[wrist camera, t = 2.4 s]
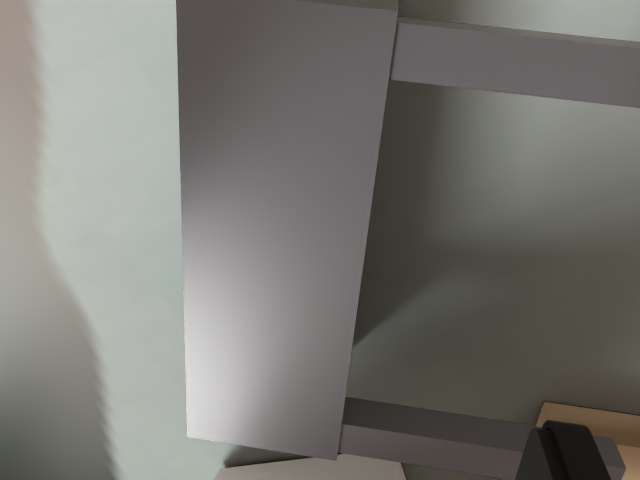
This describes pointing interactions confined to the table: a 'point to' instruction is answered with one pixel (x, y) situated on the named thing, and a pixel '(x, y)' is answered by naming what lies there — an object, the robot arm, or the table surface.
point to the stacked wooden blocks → (602, 430)
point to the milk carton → (318, 470)
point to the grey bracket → (328, 211)
